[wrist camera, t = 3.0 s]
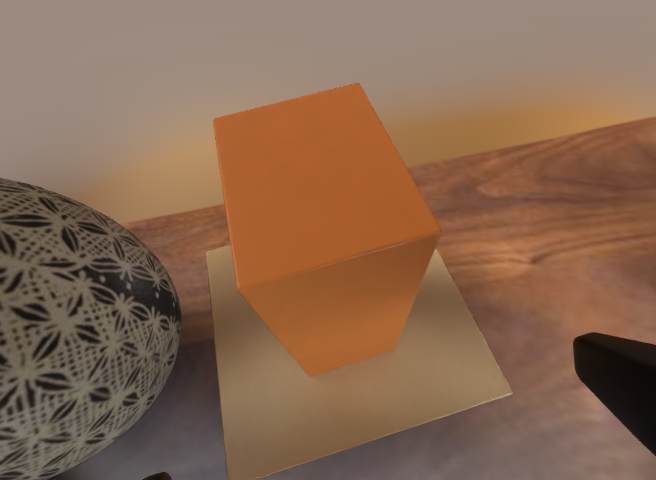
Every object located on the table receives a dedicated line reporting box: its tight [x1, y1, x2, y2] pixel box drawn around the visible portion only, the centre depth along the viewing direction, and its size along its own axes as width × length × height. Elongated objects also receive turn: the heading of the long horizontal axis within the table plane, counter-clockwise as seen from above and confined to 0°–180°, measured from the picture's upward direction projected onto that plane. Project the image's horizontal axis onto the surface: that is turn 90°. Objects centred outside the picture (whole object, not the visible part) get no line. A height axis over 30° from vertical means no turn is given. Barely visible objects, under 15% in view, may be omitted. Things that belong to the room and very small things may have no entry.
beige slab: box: [206, 245, 512, 480], centre depth 18 cm, size 11×12×5 cm
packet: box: [213, 83, 442, 377], centre depth 12 cm, size 5×4×10 cm
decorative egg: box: [0, 178, 182, 480], centre depth 14 cm, size 12×12×15 cm
